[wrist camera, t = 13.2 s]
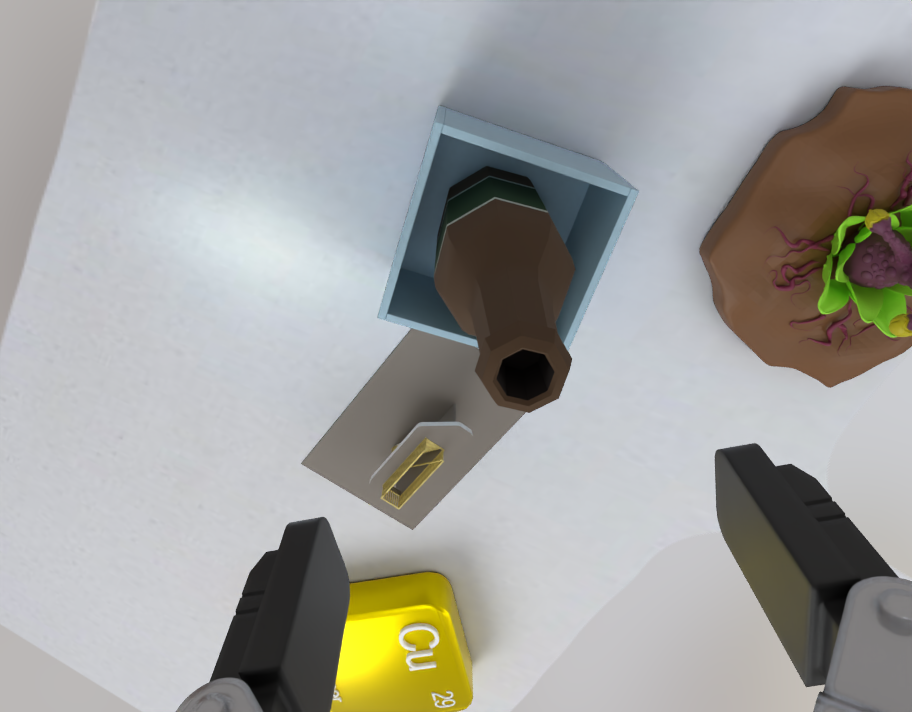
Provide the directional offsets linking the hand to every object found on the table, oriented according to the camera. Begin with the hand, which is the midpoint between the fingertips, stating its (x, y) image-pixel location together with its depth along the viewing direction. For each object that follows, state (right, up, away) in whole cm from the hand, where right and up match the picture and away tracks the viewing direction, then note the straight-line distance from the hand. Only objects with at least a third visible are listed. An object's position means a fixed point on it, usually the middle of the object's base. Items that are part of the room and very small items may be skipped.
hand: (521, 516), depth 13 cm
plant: (+27, +12, +34) cm, 45 cm away
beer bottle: (+1, +13, +33) cm, 35 cm away
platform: (-4, -3, +41) cm, 42 cm away
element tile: (-8, -25, +52) cm, 58 cm away
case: (+1, +13, +33) cm, 36 cm away
